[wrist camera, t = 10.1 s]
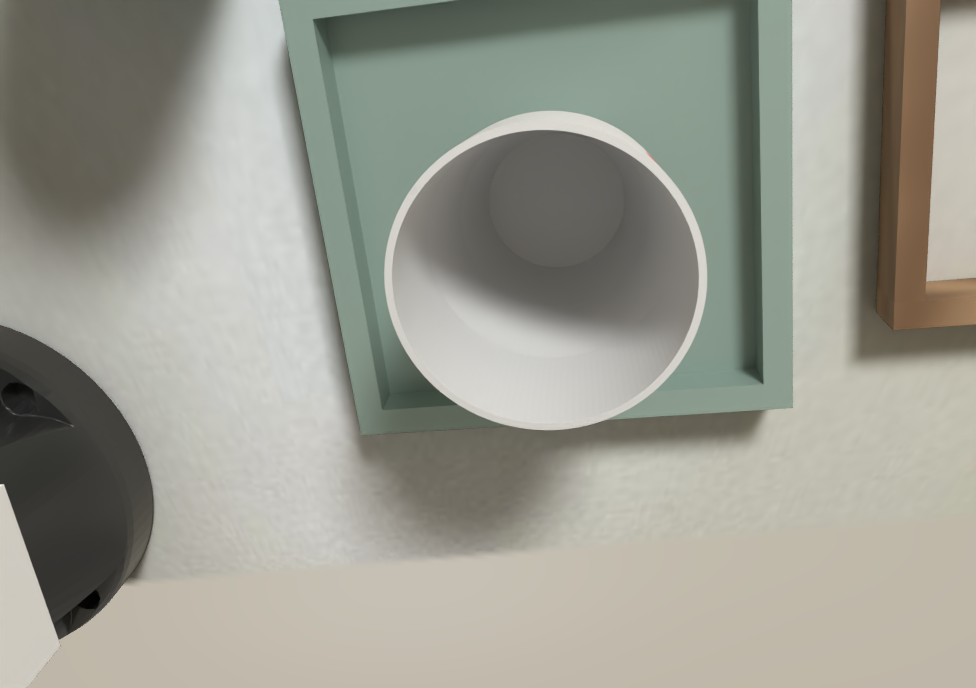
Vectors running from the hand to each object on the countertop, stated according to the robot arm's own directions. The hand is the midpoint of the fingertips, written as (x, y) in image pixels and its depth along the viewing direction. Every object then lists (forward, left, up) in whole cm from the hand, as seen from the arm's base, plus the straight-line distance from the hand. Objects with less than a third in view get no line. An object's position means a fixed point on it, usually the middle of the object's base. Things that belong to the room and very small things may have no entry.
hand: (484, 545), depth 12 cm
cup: (0, 0, -22) cm, 22 cm away
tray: (0, 0, -23) cm, 23 cm away
